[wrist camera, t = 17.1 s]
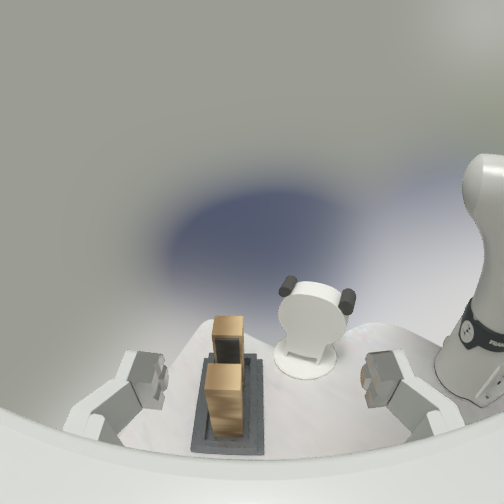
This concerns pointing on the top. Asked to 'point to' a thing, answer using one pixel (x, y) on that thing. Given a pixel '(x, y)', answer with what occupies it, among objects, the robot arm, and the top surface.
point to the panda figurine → (311, 327)
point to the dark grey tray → (251, 415)
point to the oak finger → (225, 399)
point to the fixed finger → (229, 341)
